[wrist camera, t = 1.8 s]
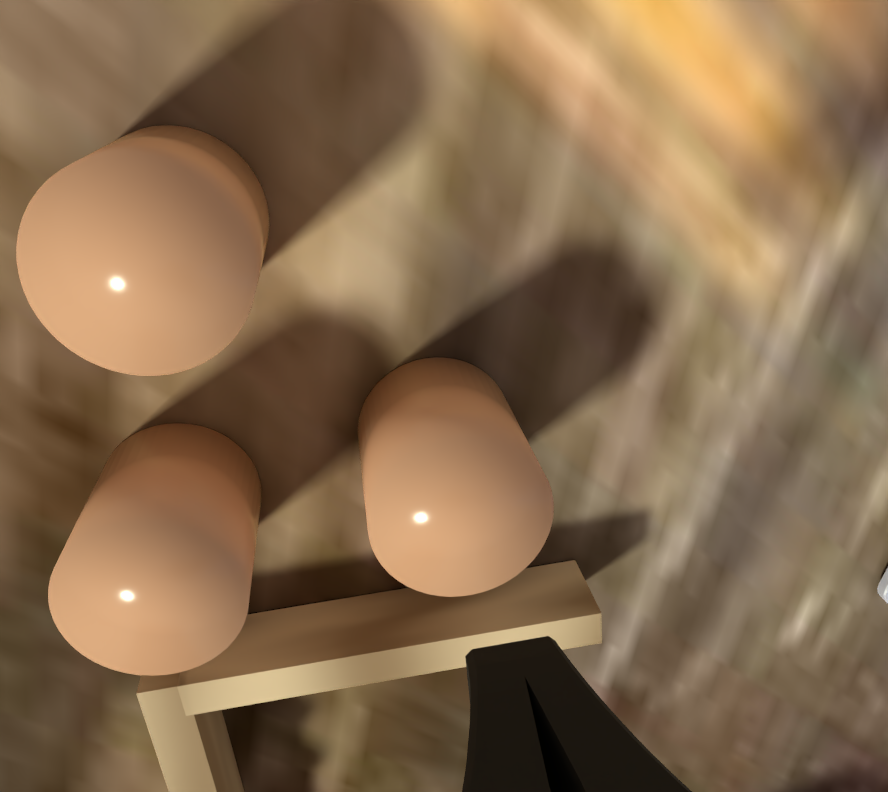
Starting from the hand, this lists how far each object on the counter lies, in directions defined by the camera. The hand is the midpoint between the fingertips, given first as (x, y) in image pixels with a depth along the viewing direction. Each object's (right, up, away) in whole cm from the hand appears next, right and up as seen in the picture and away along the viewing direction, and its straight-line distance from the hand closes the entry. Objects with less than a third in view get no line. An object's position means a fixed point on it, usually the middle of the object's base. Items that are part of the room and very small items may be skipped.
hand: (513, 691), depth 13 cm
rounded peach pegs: (-4, +5, +7) cm, 10 cm away
